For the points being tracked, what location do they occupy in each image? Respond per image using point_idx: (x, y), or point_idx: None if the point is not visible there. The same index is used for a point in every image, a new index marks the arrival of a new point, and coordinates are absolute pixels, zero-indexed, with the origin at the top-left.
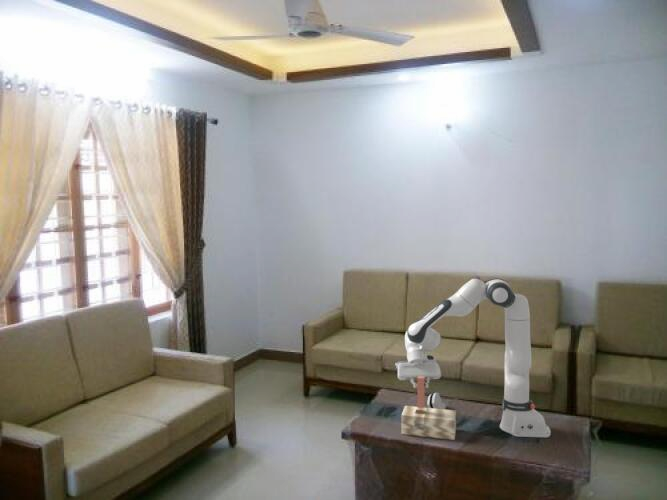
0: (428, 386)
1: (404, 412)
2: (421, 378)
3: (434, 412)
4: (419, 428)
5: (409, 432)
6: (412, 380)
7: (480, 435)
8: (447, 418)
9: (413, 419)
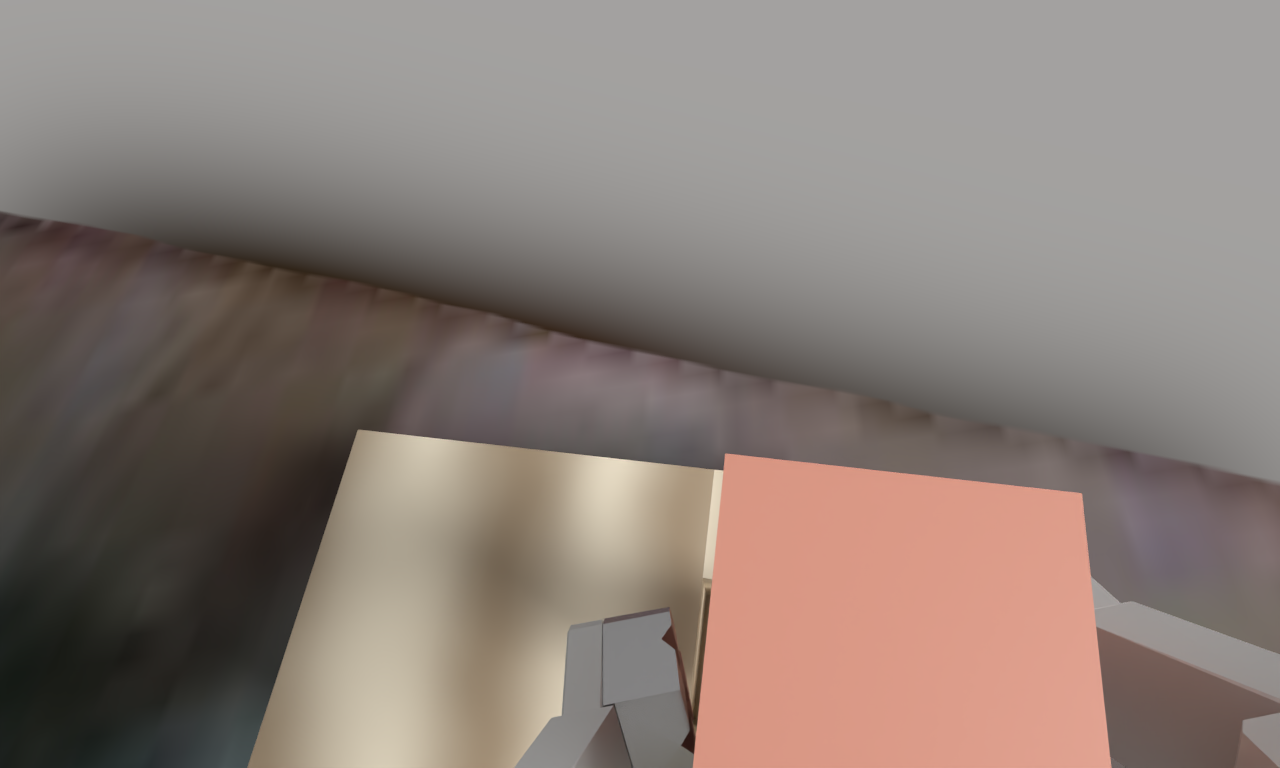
0: (577, 630)
1: None
2: (851, 475)
3: (564, 667)
4: None
5: None
6: (1270, 666)
7: (193, 618)
8: (428, 476)
9: None
